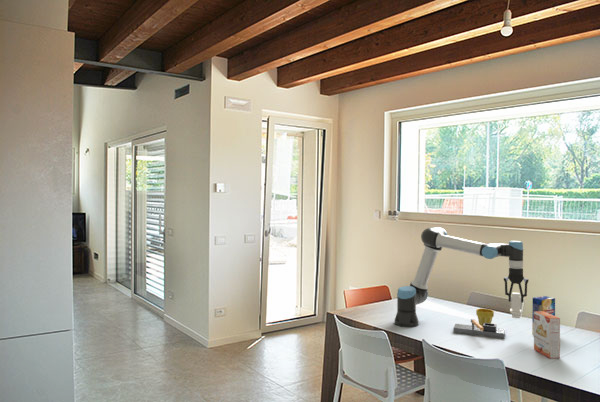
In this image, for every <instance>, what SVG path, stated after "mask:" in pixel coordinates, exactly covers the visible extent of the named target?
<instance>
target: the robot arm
mask: <svg viewBox="0 0 600 402" xmlns="http://www.w3.org/2000/svg"><path fill="white" fill-rule="evenodd" d="M420 238H421V242H422V243H423V246H424V249H423V252H422V256H421V258H420V261H419V264H418V267H417V270H416V272H415V277H414V279H413V280H412V281H410V284H409V285H405V286H401V287H399V288H397V293H396V296H397V297H396V299H397V300H396V301H397V303H396V305H397V306H396V307H397V311H396V314H395V318H394V325H396V324H397V325H396V326H398V325H399V327H403V326H404V327H405V328H406V327H407V328H413V327H415V328H416V327H418V326H419V318H418V315H417V312H416V311H417V305H420V304H423V303H424V302H425V301H426V300H427V299H428V296H429V294H428V293H429V291H428V290H429V286H428V282H429V279H430V276H431V274H432V271H433V268H434V265H435V262H436V259H437V255H438V254H439V252H441V251H442V249H443V248H445V249H448V250H454V251H459V252H463V253H467V254H471V255H476V256H480V257H484V258H485V259H488V260H493V259H495V258H497V257H498V258H499V257H505V258H508V267H509V268H508V276H506V277H503V281H504V291H505V292H504V295H505V296H508V302H510V309H512V292H513V287H514V285H515V284H516V285H518V289H519V293H520V310H522V303H524V297H527V296H528V283H529V278H526V277H524V243H523V241H520V240H510V241H509V240H508V243H497V242H496V243H495V242H492V243H491V242H490V243H488V244H487V243H483V242H478V241H474V240H468V239H465V238H460V237H456V236H451V235H448V232H447V231H446V229H444V228H442V227H439V226H434V227H427V228H425V229H424V230H423V231H422V232H421V235H420ZM508 281H510V283H511V284H510V286H509V287H510V288H509V291H508ZM523 282H524V292H523V287H522V284H521V283H523Z"/></svg>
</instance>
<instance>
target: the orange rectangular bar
mask: <svg viewBox="0 0 600 402" xmlns="http://www.w3.org/2000/svg"><path fill="white" fill-rule="evenodd" d="M470 323H471V325H472V329H474V326H477V327H478V328H479V329H480V330H483V327H482V326H481V325H480V324H479V321H477V320H476V319H475V318H471V319H470Z"/></svg>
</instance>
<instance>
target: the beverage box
mask: <svg viewBox="0 0 600 402" xmlns="http://www.w3.org/2000/svg"><path fill="white" fill-rule="evenodd" d="M535 311H544V312H546V313H549V314H551V315H554V316H556V298H555V297H552V296H547V295H546V296H545V295H542V296H536V297H532V317H531V319H532V326H531V327H532V331H531V332H532V334H531V335H533V336H534V312H535Z"/></svg>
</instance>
